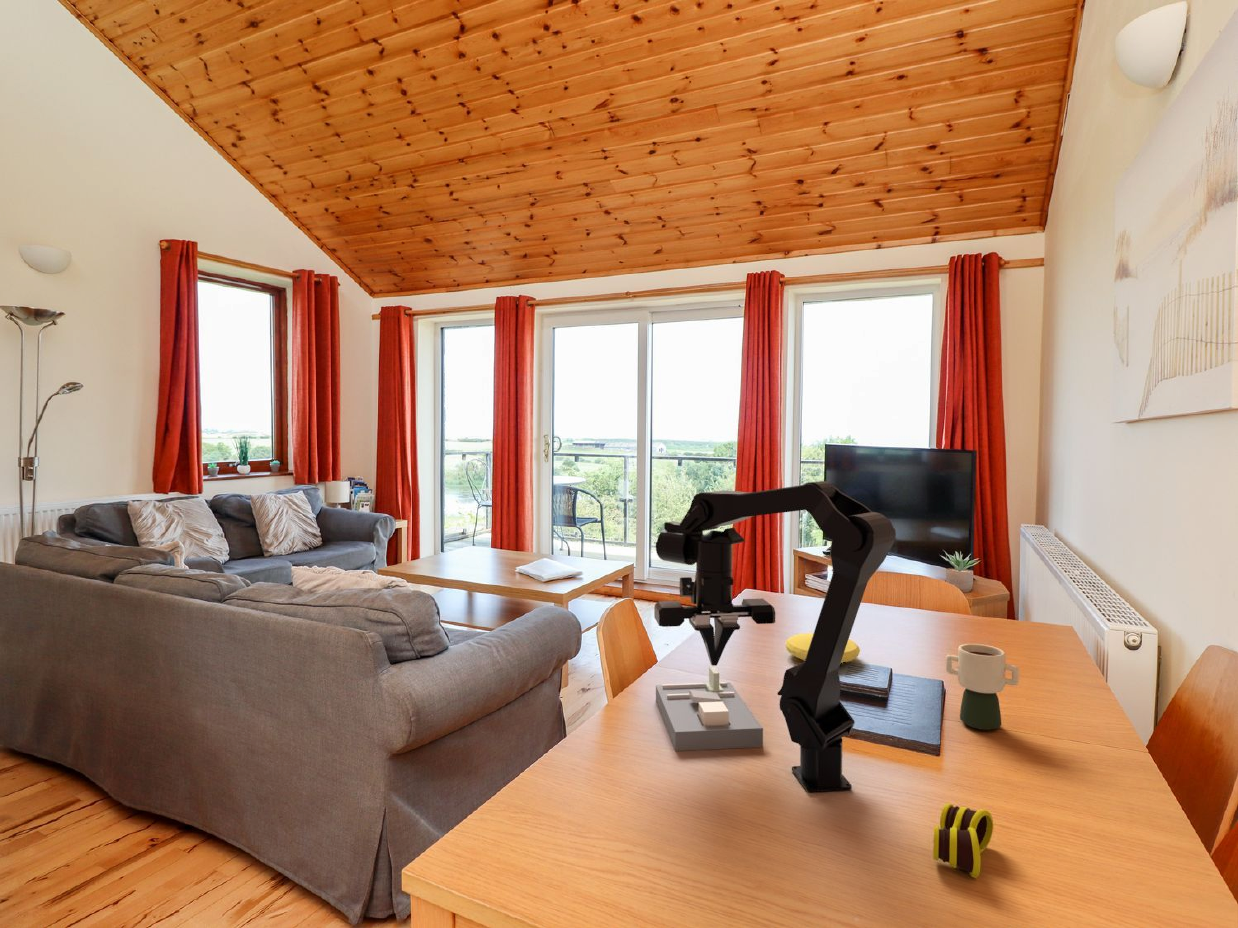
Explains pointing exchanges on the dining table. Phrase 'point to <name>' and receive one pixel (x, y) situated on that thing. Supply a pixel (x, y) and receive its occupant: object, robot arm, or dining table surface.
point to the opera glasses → (962, 837)
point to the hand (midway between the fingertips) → (713, 664)
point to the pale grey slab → (703, 696)
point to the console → (689, 729)
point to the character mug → (981, 683)
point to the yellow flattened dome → (801, 643)
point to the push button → (713, 713)
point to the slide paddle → (713, 681)
